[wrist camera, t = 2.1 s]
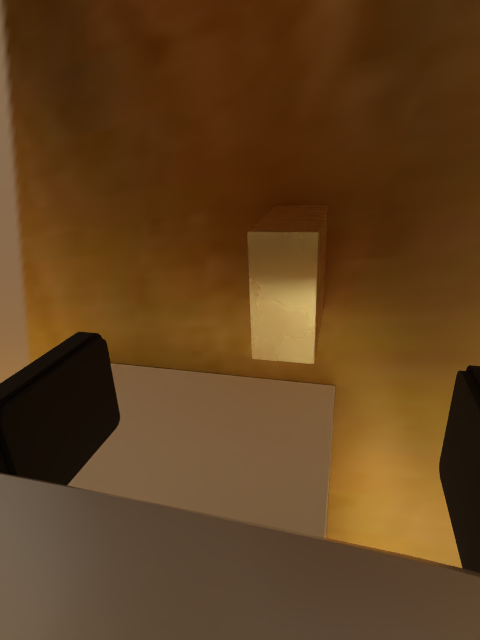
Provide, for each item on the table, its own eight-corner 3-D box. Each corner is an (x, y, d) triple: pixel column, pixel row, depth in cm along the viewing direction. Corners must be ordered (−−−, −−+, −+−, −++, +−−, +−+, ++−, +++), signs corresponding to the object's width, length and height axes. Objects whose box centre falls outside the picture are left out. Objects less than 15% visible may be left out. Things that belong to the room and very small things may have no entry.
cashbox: (105, 362, 25) (-28, 487, 16) (335, 385, 22) (322, 560, 13) (143, 537, 32) (63, 691, 23) (323, 576, 28) (309, 775, 20)
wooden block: (274, 205, 19) (247, 231, 14) (327, 204, 18) (318, 232, 13) (275, 305, 21) (252, 358, 16) (323, 307, 20) (313, 364, 15)
